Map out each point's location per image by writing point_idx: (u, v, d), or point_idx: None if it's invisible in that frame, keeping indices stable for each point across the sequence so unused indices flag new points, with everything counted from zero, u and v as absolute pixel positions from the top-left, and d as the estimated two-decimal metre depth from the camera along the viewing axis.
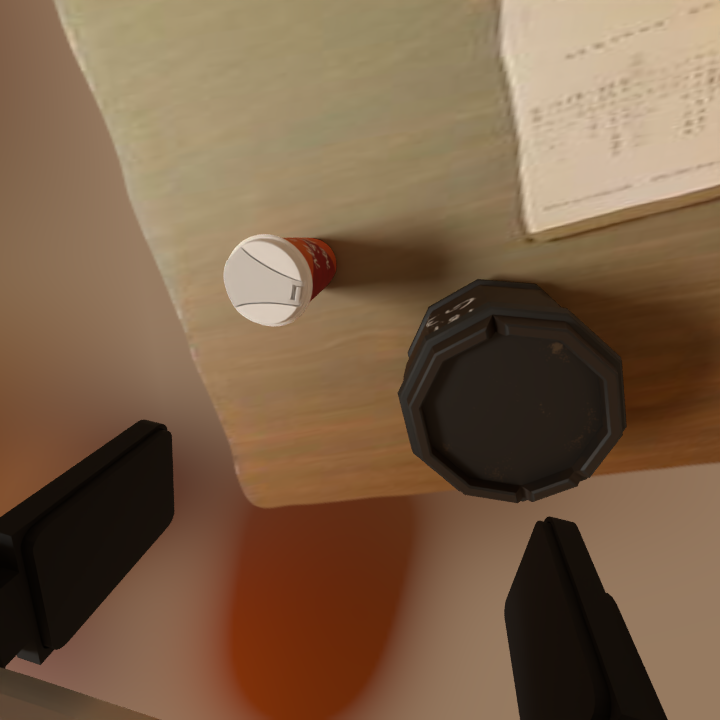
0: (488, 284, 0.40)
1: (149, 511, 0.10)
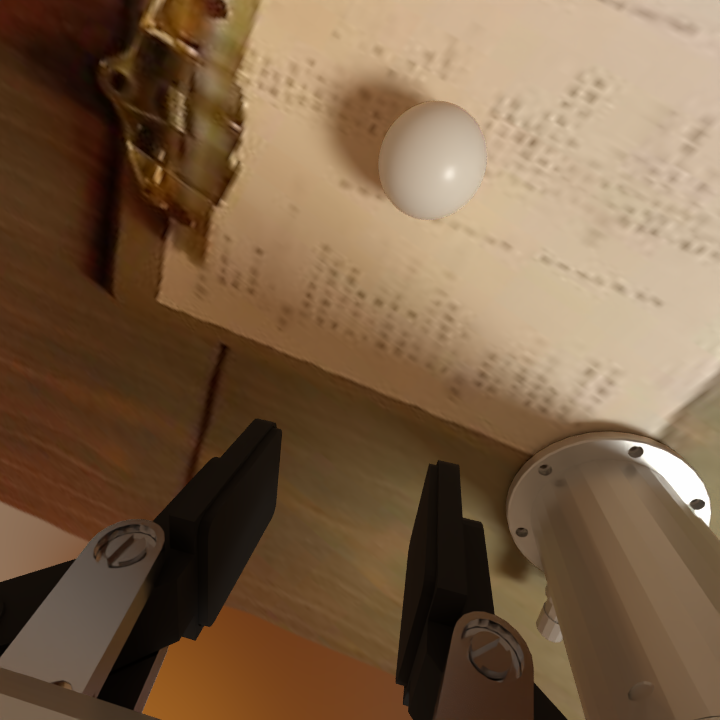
0: None
1: (264, 503, 0.11)
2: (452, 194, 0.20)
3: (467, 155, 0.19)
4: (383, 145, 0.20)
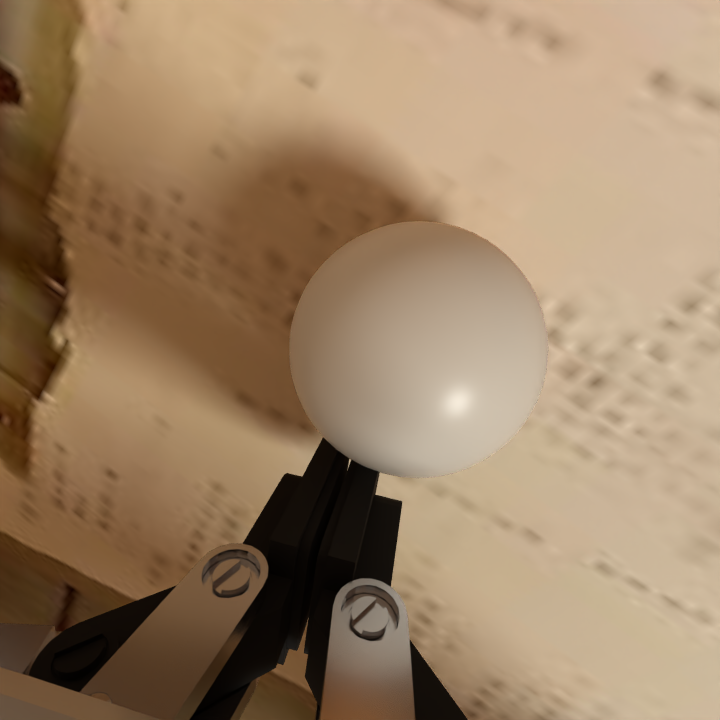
0: None
1: None
2: (485, 404, 0.07)
3: (523, 312, 0.07)
4: (307, 284, 0.08)
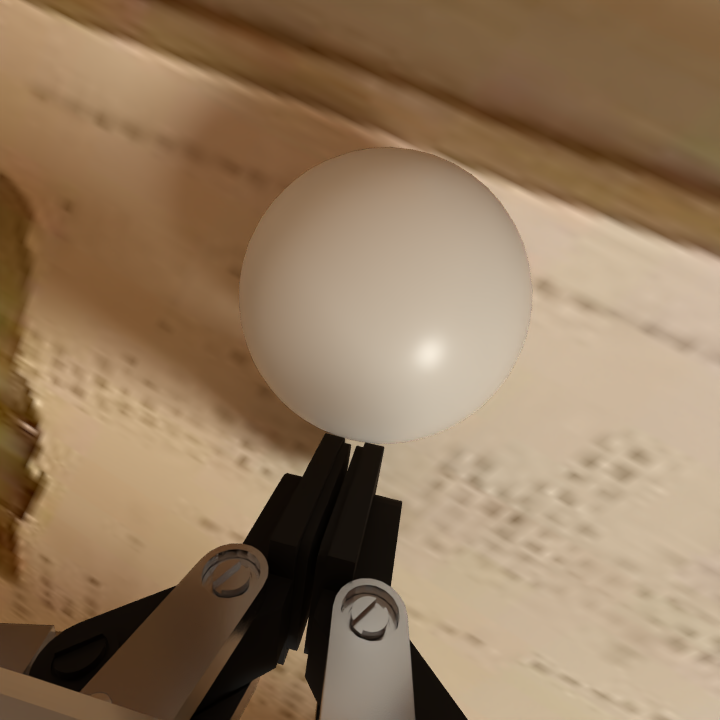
0: None
1: None
2: None
3: None
4: None
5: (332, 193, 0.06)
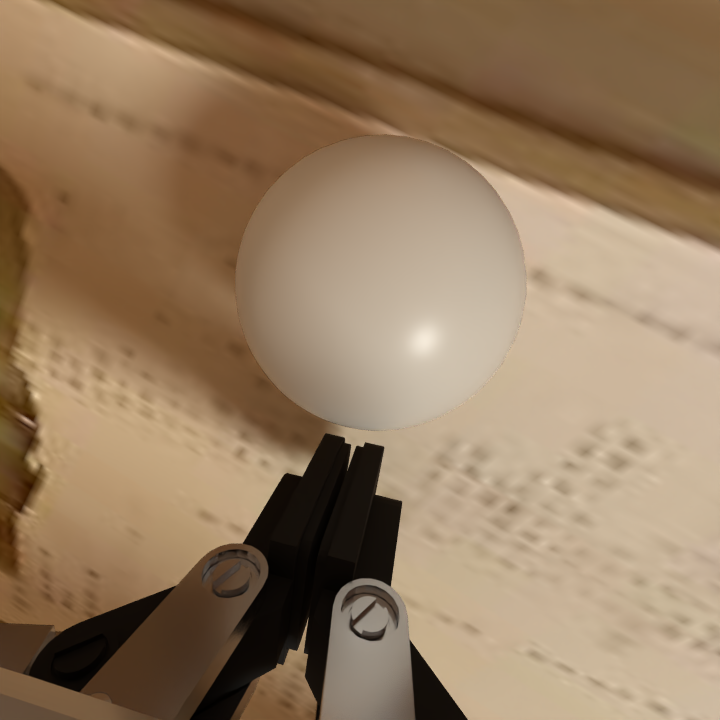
0: None
1: None
2: None
3: None
4: None
5: (327, 179, 0.06)
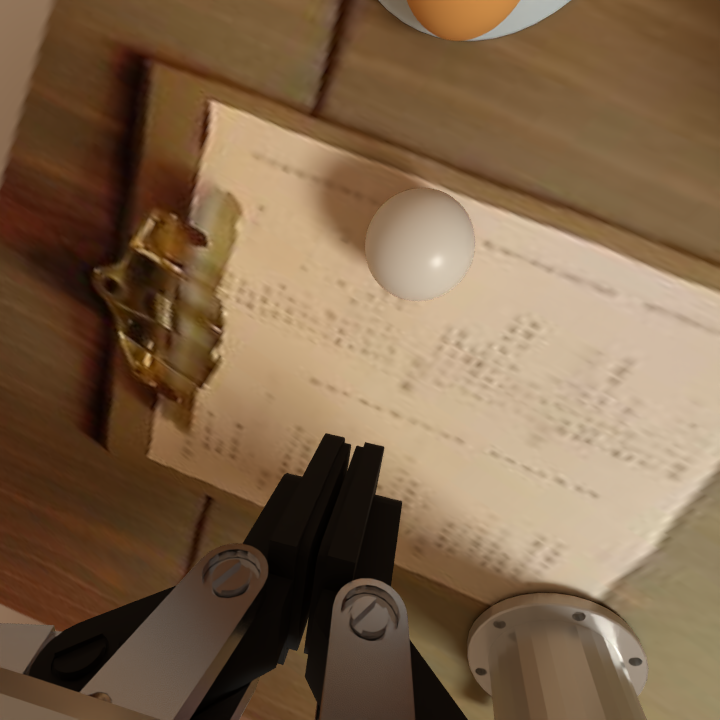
0: None
1: None
2: None
3: None
4: None
5: (407, 204, 0.18)
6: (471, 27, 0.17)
